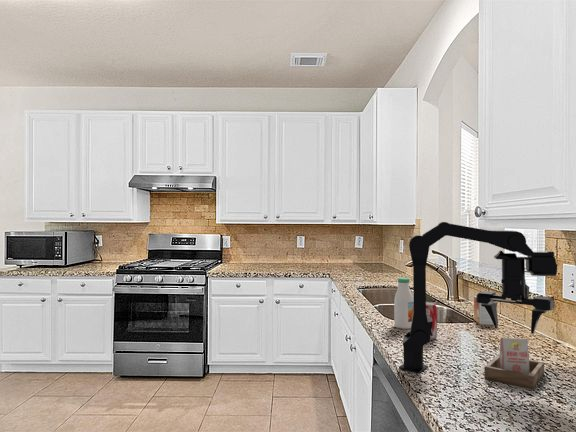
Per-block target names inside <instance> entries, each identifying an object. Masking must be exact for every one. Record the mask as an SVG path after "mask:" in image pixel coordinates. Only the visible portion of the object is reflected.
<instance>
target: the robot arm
mask: <svg viewBox="0 0 576 432" xmlns="http://www.w3.org/2000/svg"><path fill="white" fill-rule="evenodd" d="M446 236H447V237H448V236H449V237H453V238H460V239H465V240H470V241H476V242H480V243H486V244H489V245H492V246H495V247H498V248H501V249H504V250H506V251H509V252H510V253H509V252H504V251H503V250H499V251H498V252H497V253H496V254H495V255H493V258H494V259H496V260H501V292H502V293H501V295H499V294H497V293H496V291H486V290H482V291H480V292H478V293H477V294H476V295H475V296H476V302H477V303H482V304H481V306H484V307H485V309H486V310H487V312H488V314H489V315H490V317H491V320H492V322H493V326H494V329H497V330H498V328H499V320H498V319H499V318H498V311H497V310H498V302H499V303H507V304H516V305H524V306H533V309H532V310H531V320H530V321H531V324H530V333H531V334H532V335H534V334H535V331H536V329H537V325H538V323H539V320H540V317H541V316H542V315H543V314H546V313H547V312H548V311H551V310H553V309H554V308H555V301H554V299H553V298H552V297H551V296H542V295H541V296H540V295H539V296H538V295H537V296H535V297H534V298H529V297H530V286H529V285H528V284H527V283H526V281H527V280H526V274H525V273H526V272H527V273H529V274H530V275H531V276H532V277H533V276H534V277H556V276H557V274H558V264H557V260H556V257H555V252H554V251H552V250H548V251H533V249H532V248H530V246H529V245H528V244H527V239H526V236H525V235H524V233H522V232H520V231H518V230H517V231H516V230H508V229H507V230H504V229H503V230H496V229H495V230H489V229H484V228H483V229H482V228H477V227H470V226H465V225H461V224H460V225H459V224H453V223H449V222H447V221H441V222H439V223H438V224H437V225H436V226H434V227H432V228H431V229H429V230H428V231H426V232H424V233H423V234H416V235H414V236H412V237H411V239H410V240H409V243H408V244H409V245H408V247H409V248H408V249H409V252H410V257H411V258H410V259H411V262H412V268H413V269H412V272H413V273H412V276H413V279H412V280H413V281H412V282H413V283H412V284H413V285H412V287H413V291H412V292H413V302H414V312H413V317H412V322H411V328H410V329H409V331H408V332H407V333H406V334H405V335H404V336H403V339H402V347H403V351H402V353H403V363H402V364H401V365H399V366H398V369H400V370H404V371H409V372H413V373H417V374H420V373H421V372H423V371H425V370H426V369H428V368H429V365H427V364H424V347H425V346H426V345H427V344H429V342H430V341H431V340H430V335H431V336H433V332H432V323H433V322H432V317H431V318H427V314H426V302H427V277H426V276H427V273H426V272H427V262H428V258H429V251H430V247H431V246H433V245H434V244H436V243H437V242H438V241H440V240H441V239H443V238H445V237H446ZM511 252H514V253H511ZM516 253H519V254H520V255H523V256H517V254H516Z"/></svg>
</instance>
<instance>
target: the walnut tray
mask: <svg viewBox="0 0 576 432" xmlns="http://www.w3.org/2000/svg"><path fill="white" fill-rule="evenodd" d="M483 368H484V369H483V370H484V371H483V372H484V380H487V381H492V382H496V383H500V384H505V385H509V386H514V387H518V388H523V389H527V390H530V391H531V390H532V391H534V390H535V388H536V387H537V386H538V384H539V383H540V381H541V380H542V379H543V377H544V376H545V362H543V361H538V360H533V359H529V374H525V373H520V372H515V371H510V370H505V369H500V353H499V354H497V355H496V356H494V358H492V359H491V360H490V361H489V362H488V363H487V364H486V365H485V366H484V367H483Z"/></svg>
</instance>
